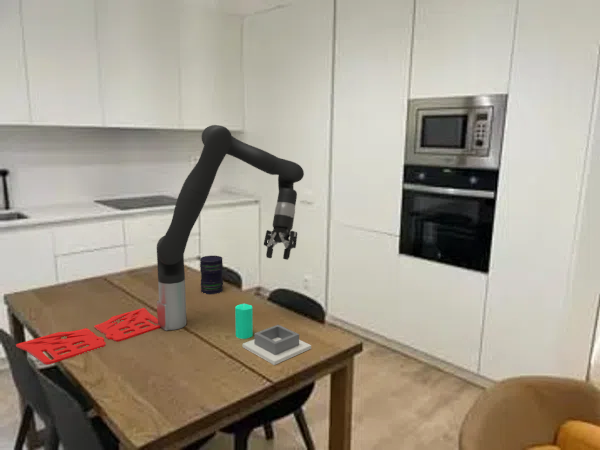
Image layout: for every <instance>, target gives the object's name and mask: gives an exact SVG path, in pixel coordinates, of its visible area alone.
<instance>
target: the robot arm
mask: <svg viewBox="0 0 600 450" xmlns="http://www.w3.org/2000/svg"><path fill="white" fill-rule="evenodd" d="M201 141H202V145H203V148H202V151H201V154H200V156H199V159H198V161H197V162H196V164H195V166H194V167H193V169H192V170H191V171H190V173H189V174H188V175H187V177H186V178H185V180H184V182H183V184H182V186H181V188H180V191H179V193H178V196H177V199H176V203H175V206H174V210H173V214H172V219H171V221H170V225H169V226H168V228H167V230H166V233H165V234H164V236H163V235H162V237H160V238H159V240H158V241H157V243H156V259H157V260H156V261H157V262H156V263H157V264H156V265H157V280H158V281H157V282H158V300H157V301H156V309H157V319H158V325H160V327H161V328H160V329H163V330H164V331H171V330H172V331H174V330H179V329H182V328H184V327H185V326H187V305H186V304H187V303H186V302H187V301H186V298H187V297H186V273H185V259H184V257H185V256H184V255H185V251H186V248H187V244H188V241H189V237H190V234H191V232H192V230H193V227H194V226H195V224H196V222H197V220H198V219H199V217H200V214H201V212H202V211H203V208H204V206H205V204H206V201H207V199H208V197H209V194H210V192H211V189H212V186H213V184H214V182H215V178H216V175H217V173H218V170H219V168H220V166H221V164H222V162H223V161H224V159H225V157H226V156H227V155H228V156H231V157H233V158H236V159H238V160H240V161H242V162H244V163H246V164H248V165H250V166H251V167H253V168H255V169H257V170H260V171H262V172H264V173H266V174H267V175H268V174H269V175H271V176H277V185H278V186H277V187H278V195H277V201H276V205H275V208H274V215H273V220H272V228H273V229H272V230H269V229H268V230H266V231H265V237H264V241H263V246H264V247H266V252H265V253H266V258H267V259H272V257H273V253H274V247H275V246H277V245H278V244H283V246H284V249H283V257H282V259H284V260H286V261H287V260H289V259H290V256H291V250H292V249H296V247H297V240H298V231H295V230H293V226H294V219H295V214H296V205H297V198H298V194H297V193H298V192H297V191H296V189H294V184H295V183H299V182H300V181H302V180H303V178H304V176H305V172H304V169H303V167H302V166H301V165H300V164H298V162H297V163H296V162H294V161H291V160H288V159H285V158H280V157H278V156H276V155H274V154H272V153H270V152H268V151H266V150H263V149H261V148H259V147H255V146H254V145H250V144H248V143H245V142H243V141H242V140H240V139H238V138H236V137H234V136H232V132H231V130H229V128H227V127H225V126H222V125H217V124H212V125H209V126H207V127H205V128H204V129H203V130H202V133H201Z"/></svg>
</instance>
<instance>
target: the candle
mask: <svg viewBox="0 0 600 450" xmlns="http://www.w3.org/2000/svg"><path fill="white" fill-rule="evenodd" d="M234 308H235V309H234V311H235V312H234V313H235V315H234V316H235V317H234V318H235V319H234V320H235V337H236V338H237V339H241V340H246V339H249V338H252V337H253V336H254V333H253V332H254V331H253V327H254V326H253V323H254V322H253V315H254V314H253V312H254V311H253V305H251V304H247V303H240V304H238V305H236V306H235V307H234Z"/></svg>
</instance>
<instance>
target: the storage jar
mask: <svg viewBox="0 0 600 450" xmlns="http://www.w3.org/2000/svg"><path fill="white" fill-rule="evenodd" d="M199 262H200V263H199V266H200V267H199V268H200V288H201V289H200V292H201V293H202V292H203V293H202V294H204V293H206V294H205V295H217V293H218V294H221V293H222V292H223V291H224V288H223V287H224V278H223V270H224V267H223V264H224V263H223V257H222V256H220V255H205V256H201V257H200V258H199ZM220 292H221V293H220Z"/></svg>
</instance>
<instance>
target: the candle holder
mask: <svg viewBox="0 0 600 450" xmlns="http://www.w3.org/2000/svg"><path fill="white" fill-rule="evenodd" d="M253 336H254V337H253V338H254V339H251V340H248V341H247V342H243V343H242V346H241V347H242V348H243V349H245V350H247V351H249V352H250V353H252V354H254V355H256V356H258V357H259V358H261V359H262V360H265V361H266V362H268V363H269V364H271V365H272V366H276V365H278V364H280V363H282V362H285V361H287V360H289V359H291V358H293V357H295V356H298V355H300V354H302V353H304V352H307V351H310V350H312V345H311V344H309V343H307V342H305V341H303V340H301V339H300V334H299V333H297V332H296V331H293V330H291V329H289V328H286V327H284V326H282V325H280V324H276V325H273V326H271V327H267V328H265V329H263V330H260V331H257V332H254V333H253Z"/></svg>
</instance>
